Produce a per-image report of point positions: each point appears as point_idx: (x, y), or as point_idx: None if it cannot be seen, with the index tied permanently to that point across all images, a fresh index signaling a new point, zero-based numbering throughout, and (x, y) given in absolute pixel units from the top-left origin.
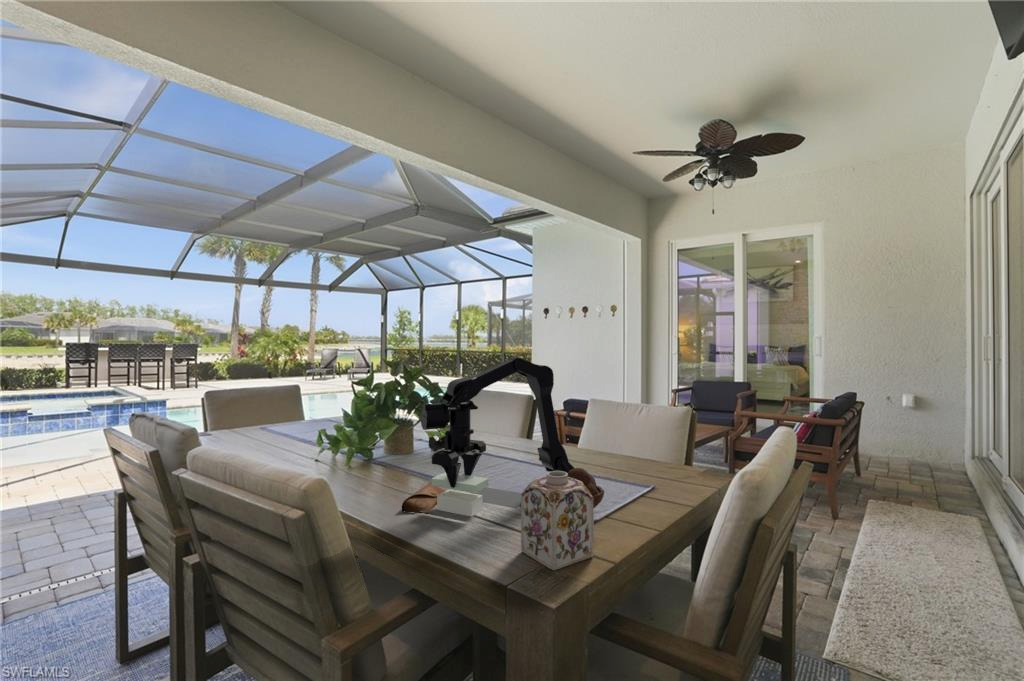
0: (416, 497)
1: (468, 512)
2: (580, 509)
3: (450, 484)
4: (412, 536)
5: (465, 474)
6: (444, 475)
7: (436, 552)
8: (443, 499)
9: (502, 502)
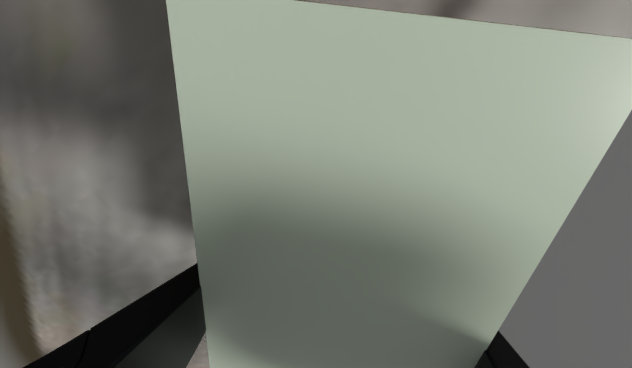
0: None
1: None
2: None
3: (193, 270)
4: (16, 89)
5: (481, 365)
6: (397, 130)
7: (15, 224)
8: None
9: (512, 328)
